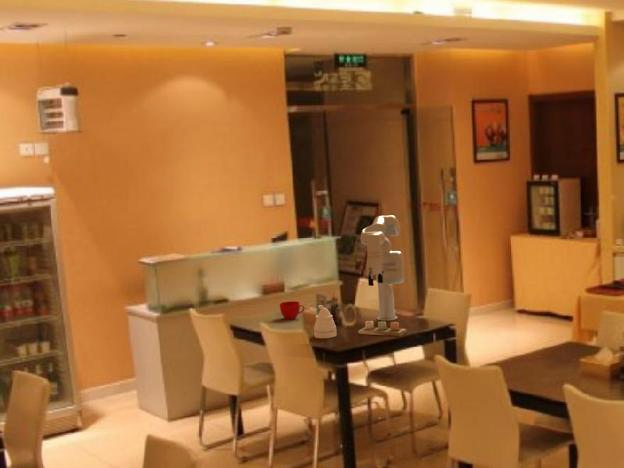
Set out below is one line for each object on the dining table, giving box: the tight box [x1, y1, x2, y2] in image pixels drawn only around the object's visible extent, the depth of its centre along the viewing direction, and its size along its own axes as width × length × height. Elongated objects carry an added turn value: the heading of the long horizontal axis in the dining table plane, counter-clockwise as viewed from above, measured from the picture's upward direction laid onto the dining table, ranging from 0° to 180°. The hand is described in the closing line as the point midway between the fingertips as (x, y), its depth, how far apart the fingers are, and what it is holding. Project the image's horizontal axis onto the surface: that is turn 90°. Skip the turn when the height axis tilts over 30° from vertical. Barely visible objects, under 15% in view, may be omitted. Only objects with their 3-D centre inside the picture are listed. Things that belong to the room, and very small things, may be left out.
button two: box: [377, 321, 387, 330], centre depth 502 cm, size 5×5×4 cm
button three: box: [390, 321, 400, 331], centre depth 498 cm, size 5×5×4 cm
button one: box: [364, 320, 375, 329], centre depth 506 cm, size 5×5×4 cm
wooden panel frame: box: [357, 326, 408, 337], centre depth 502 cm, size 10×26×2 cm, turn 61°
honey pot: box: [313, 304, 338, 339], centre depth 504 cm, size 13×13×18 cm
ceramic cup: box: [279, 300, 305, 320], centre depth 562 cm, size 13×17×10 cm
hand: (375, 284), depth 501 cm, fingers open, 9 cm apart
